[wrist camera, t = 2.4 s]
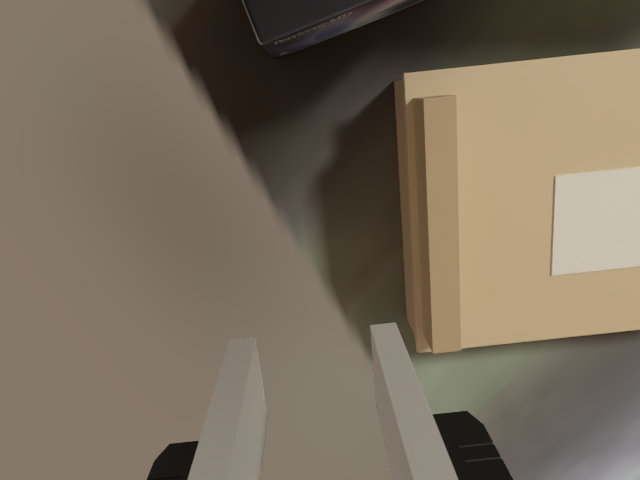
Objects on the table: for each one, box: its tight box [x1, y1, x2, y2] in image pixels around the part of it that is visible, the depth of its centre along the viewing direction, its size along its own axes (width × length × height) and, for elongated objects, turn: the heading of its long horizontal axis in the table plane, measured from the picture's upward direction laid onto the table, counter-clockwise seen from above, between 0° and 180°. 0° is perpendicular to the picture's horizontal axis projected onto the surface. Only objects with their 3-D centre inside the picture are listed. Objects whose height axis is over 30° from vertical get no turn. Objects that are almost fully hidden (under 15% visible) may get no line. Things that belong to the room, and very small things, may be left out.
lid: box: [402, 48, 640, 354], centre depth 27 cm, size 17×20×3 cm
